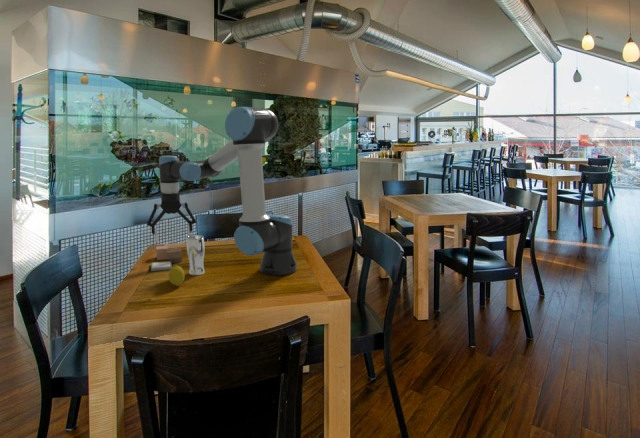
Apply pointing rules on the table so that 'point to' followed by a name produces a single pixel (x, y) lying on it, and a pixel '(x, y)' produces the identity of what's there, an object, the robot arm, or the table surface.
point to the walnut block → (174, 255)
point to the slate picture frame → (161, 266)
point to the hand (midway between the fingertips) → (172, 240)
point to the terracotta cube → (161, 252)
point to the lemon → (176, 275)
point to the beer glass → (196, 254)
